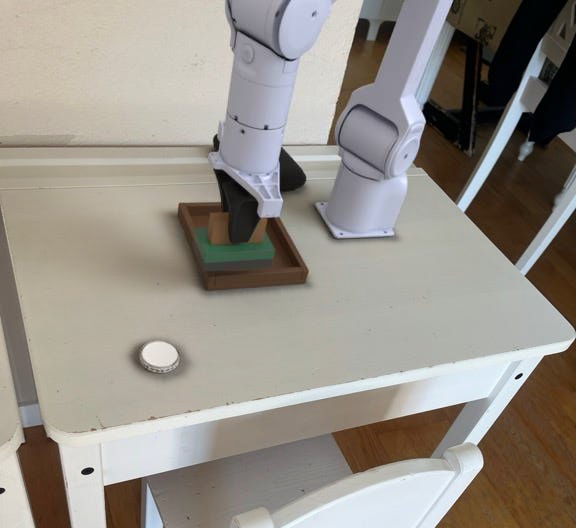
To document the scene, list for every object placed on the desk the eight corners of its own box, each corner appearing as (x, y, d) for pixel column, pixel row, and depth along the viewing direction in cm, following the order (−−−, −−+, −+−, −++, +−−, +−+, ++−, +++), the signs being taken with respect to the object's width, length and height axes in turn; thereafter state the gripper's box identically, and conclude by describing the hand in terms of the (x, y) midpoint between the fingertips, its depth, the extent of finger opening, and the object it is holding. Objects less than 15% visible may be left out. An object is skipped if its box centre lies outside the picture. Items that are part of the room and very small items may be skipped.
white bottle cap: (152, 338, 65) (153, 334, 65) (186, 354, 65) (187, 350, 64) (131, 361, 62) (131, 357, 62) (166, 378, 62) (166, 374, 61)
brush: (192, 245, 70) (197, 204, 66) (258, 242, 73) (267, 203, 69) (203, 271, 67) (208, 230, 63) (271, 267, 70) (280, 227, 67)
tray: (267, 214, 85) (270, 200, 84) (305, 283, 77) (309, 270, 75) (177, 216, 80) (178, 202, 79) (207, 291, 72) (209, 276, 70)
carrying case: (200, 145, 93) (245, 201, 86) (202, 126, 91) (249, 182, 84) (261, 140, 98) (309, 192, 91) (265, 122, 96) (314, 174, 89)
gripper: (195, 76, 61) (183, 196, 71) (239, 156, 52) (219, 280, 62) (262, 79, 63) (242, 195, 73) (314, 156, 55) (283, 275, 65)
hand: (235, 234), depth 68 cm, fingers closed on brush
